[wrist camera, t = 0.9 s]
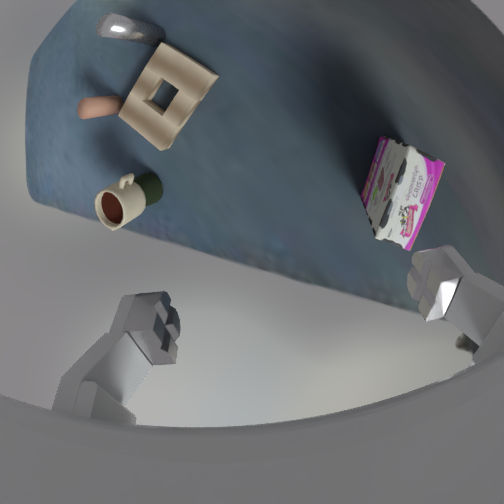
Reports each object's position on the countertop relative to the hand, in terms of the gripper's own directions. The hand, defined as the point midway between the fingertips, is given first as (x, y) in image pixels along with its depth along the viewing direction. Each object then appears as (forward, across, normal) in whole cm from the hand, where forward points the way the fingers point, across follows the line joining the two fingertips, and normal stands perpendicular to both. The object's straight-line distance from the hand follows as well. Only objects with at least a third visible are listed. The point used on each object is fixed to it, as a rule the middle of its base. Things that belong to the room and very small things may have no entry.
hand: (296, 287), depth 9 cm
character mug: (+44, +21, +12) cm, 50 cm away
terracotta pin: (+49, +25, -6) cm, 55 cm away
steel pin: (+48, +14, -18) cm, 53 cm away
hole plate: (+45, +13, -5) cm, 47 cm away
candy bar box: (+32, -20, +10) cm, 39 cm away
